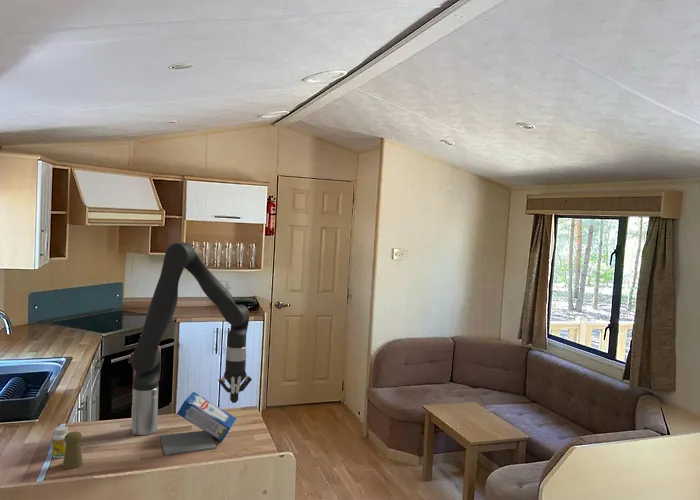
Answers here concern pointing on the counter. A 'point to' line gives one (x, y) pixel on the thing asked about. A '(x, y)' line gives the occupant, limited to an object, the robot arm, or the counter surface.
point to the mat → (187, 442)
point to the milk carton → (206, 416)
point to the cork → (73, 451)
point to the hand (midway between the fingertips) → (233, 402)
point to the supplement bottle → (59, 442)
